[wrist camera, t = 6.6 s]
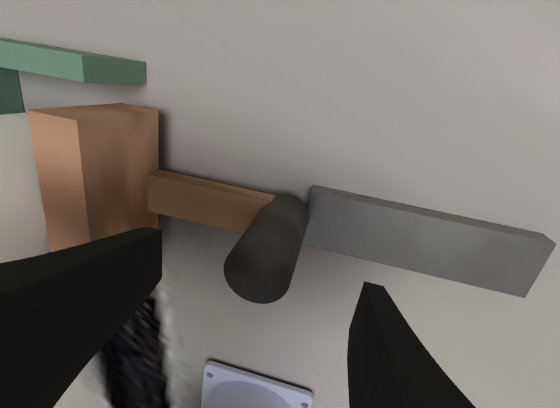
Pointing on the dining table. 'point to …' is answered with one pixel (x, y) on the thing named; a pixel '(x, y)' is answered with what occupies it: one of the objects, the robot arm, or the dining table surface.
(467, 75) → the dining table surface
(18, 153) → the can
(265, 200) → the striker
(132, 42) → the dining table surface
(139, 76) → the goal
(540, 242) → the rail
